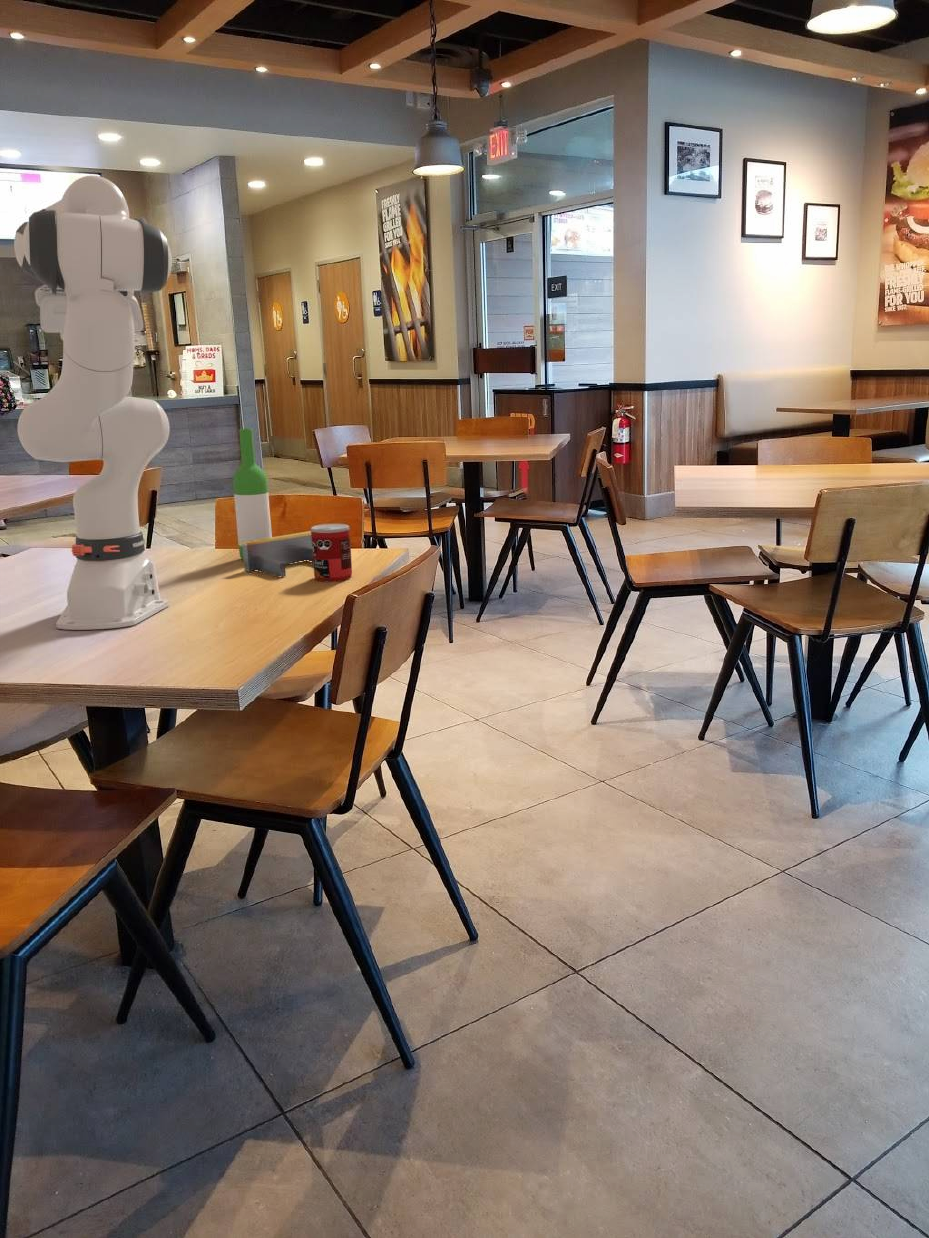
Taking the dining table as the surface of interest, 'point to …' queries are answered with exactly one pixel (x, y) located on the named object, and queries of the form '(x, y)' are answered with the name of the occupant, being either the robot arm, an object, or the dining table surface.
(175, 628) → the dining table surface
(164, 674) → the dining table surface
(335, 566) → the canned food
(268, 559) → the loading bay
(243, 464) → the wine bottle
